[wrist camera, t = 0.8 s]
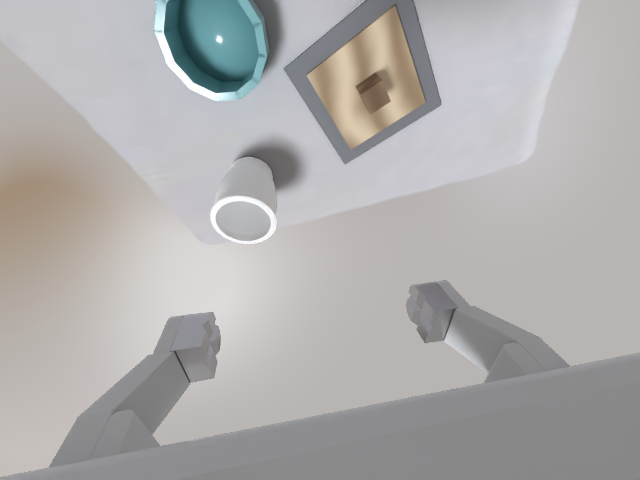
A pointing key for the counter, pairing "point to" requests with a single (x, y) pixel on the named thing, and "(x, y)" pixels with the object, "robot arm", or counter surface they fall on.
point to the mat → (337, 37)
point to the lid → (369, 80)
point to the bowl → (213, 44)
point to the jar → (246, 202)
